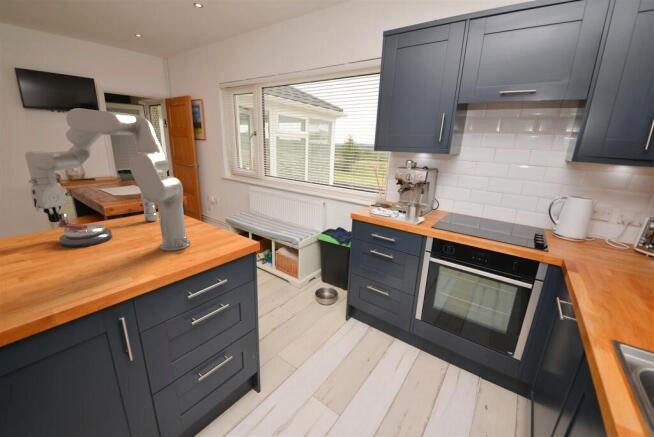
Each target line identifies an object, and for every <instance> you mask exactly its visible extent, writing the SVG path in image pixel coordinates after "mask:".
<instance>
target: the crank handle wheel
mask: <svg viewBox="0 0 654 437" xmlns="http://www.w3.org/2000/svg"><path fill="white" fill-rule="evenodd" d="M58 215H59V222H58V223H59V224H57V226H58V228H64V229H63V233H64V234H63V235H65V237H66V238H67V239H84V238H90V237H95V236H98V235H101V234H103V233H105V229H106V226H105V225H104V223H102V224H101V223H100V224H99V223H90V224H87V223H86V224H77V223H69V222H70V221H69V218H68V215H67V213H66V212H59V213H58Z"/></svg>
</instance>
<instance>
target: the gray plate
mask: <svg viewBox="0 0 654 437" xmlns="http://www.w3.org/2000/svg"><path fill="white" fill-rule="evenodd" d="M58 239H59V244H60V246H61V247H62V248H65V249H81V248H87V247H92V246H97V245H101V244H104V243H107V242H108V241H110V240H111V239H113V235H112V230H111V229H109V228H105V233H103V234H101V235H98V236H95V237H90V238H84V239H67V238H66V237H65V234H62V235H61V236H59V238H58Z"/></svg>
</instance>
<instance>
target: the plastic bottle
mask: <svg viewBox="0 0 654 437" xmlns="http://www.w3.org/2000/svg"><path fill="white" fill-rule="evenodd" d="M140 199H141V201H142V206H143V212H144V214H143V218H144V221H146V222H155V221H157V220H159V214H158V213H157V210H156V205H155V204H156V203H152V202H149V201H148V200H147V199H146V198H145V197H144V196H143V194H142V193H141V195H140Z"/></svg>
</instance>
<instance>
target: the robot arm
mask: <svg viewBox="0 0 654 437" xmlns="http://www.w3.org/2000/svg"><path fill="white" fill-rule="evenodd" d="M65 119H66V124H67V125H68V126H69V129H68V130H67V131H66V132H65V137H66V139H67V140H68V141H69V142H70V143H71V144H72V145H73V146H72V147H71V148H69V149H68V150H67V151H63V150H62V151H49V152H48V151H27V152H25V154H24V157H25V158H24V159H25V161H26V164H27V168H28V172H29V176H30V179H29V180H28V183H29V184H31V185H30V192H31V201H32V204H33V206H34V208H35V211H36V212H39V213H40V212H41V213H42V212H43V213H45V214H46V215H47V218H48V221H49V223H59V215H58V214H59V213H60V210H61V209H62V208H64V207H66V204H68V203H67V202H68V201H67V197H66V194H65V191H64V189H63V186H62V185H61V184H60V182H58V180H57V176H56V172H55V171H64V170H74V169H76V168H79V167H81V166H82V165H83V164H84V163H86V161H87V160H88V159H89V158H90V156H91V154H92V146H93V145H94V144H95V143H96V142H97V141H98V140H99V139H100V138H101V137H102V136H103V135H104V136H105V135H106V136H133V137H134V144H135V147H136V149H137V151H138V152H136V153H134V154H133V155H132V156H131V157H130V159H129V164H128V165H129V170H130V172H131V175H132V176H133V179H134V181H135V183H136V185H137V186H138V189H139V190H140V192H141V194H143V196H144V197H145V198H146V199H147V200H148V201H149V202H152V203H155V204H157V208H158V220H159V224H160V232H161V239H162V242H160V243H159V245H158V246H159V249H160V250H162V251H169V252H172V251H173V252H174V251H178V250H183V249H186V248H188V247H190V246H191V240H190V239H189V238H188V237H187V234H186V233H187V232H186V224H185V215H184V214H185V213H184V205H183V204H184V203H183V196H184V188H183V184H182V182H181V180H180V179H178V178H177V177H175V176H171V175H167V176H162V177H161V176H160V175H163V174H165V173H167V172H168V171H169V168H170V163H169V160H168V158H167V155H166V153H165V152H164V149H163V147H162V144H161V143H160V141H159V139H158V136H157V134H156V131H155V129H154V126H153V125H152V123H151V122H150V120H148V119H147V118H145V117H143V116H141V115H138V114H132V113H126V112H115V111H108V110H97V109H96V110H95V109H87V108H79V107H77V108H73V109H72V108H71V109H70V110H69V111H68V112H67V114H66V115H65Z"/></svg>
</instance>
